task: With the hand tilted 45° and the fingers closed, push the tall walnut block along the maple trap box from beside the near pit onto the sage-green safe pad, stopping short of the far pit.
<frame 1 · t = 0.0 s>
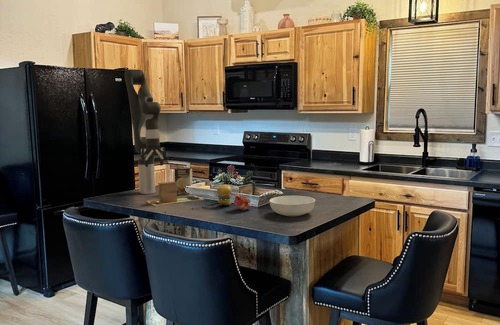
hand: (154, 166, 256), 17 cm above the kitchen island, tool pointing down, fingers open, 8 cm apart
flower: (243, 210, 219), on the kitchen island
coffee box: (184, 196, 258), on the kitchen island
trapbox: (175, 203, 236), on the kitchen island
serving bowl: (292, 214, 209), on the kitchen island
hamburger: (224, 206, 229), on the kitchen island
block: (168, 201, 234), point 1 cm above the kitchen island, touching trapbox
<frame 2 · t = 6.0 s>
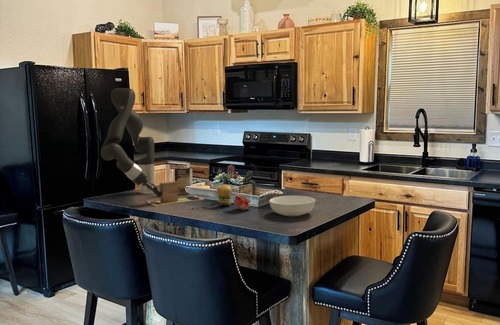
hand: (160, 195, 232), 5 cm above the kitchen island, tool tilted 45°, fingers closed
nothing on the kitchen island moved.
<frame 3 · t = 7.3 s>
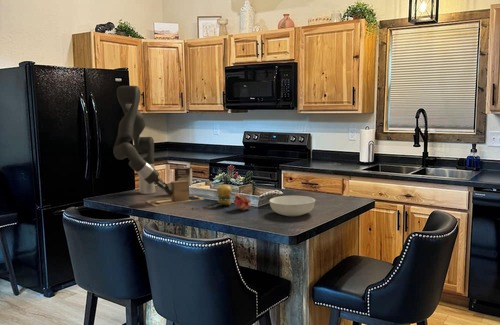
hand: (171, 194, 235), 5 cm above the kitchen island, tool tilted 45°, fingers closed
block: (180, 200, 237), point 1 cm above the kitchen island, touching gripper, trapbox
everything else where it was.
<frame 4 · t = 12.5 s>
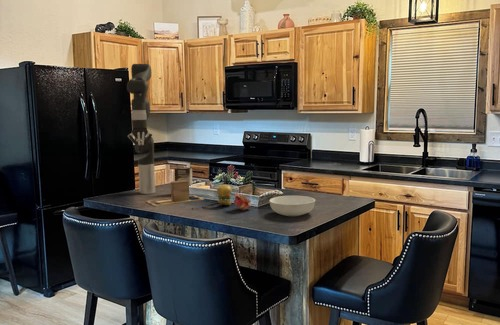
hand: (140, 152, 236), 27 cm above the kitchen island, tool pointing down, fingers closed
block: (180, 200, 237), point 1 cm above the kitchen island, touching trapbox
everything else where it was.
at the end: block inside the target area (0.3 cm from its centre), point 1.5 cm above the kitchen island; block tilted 0° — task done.
